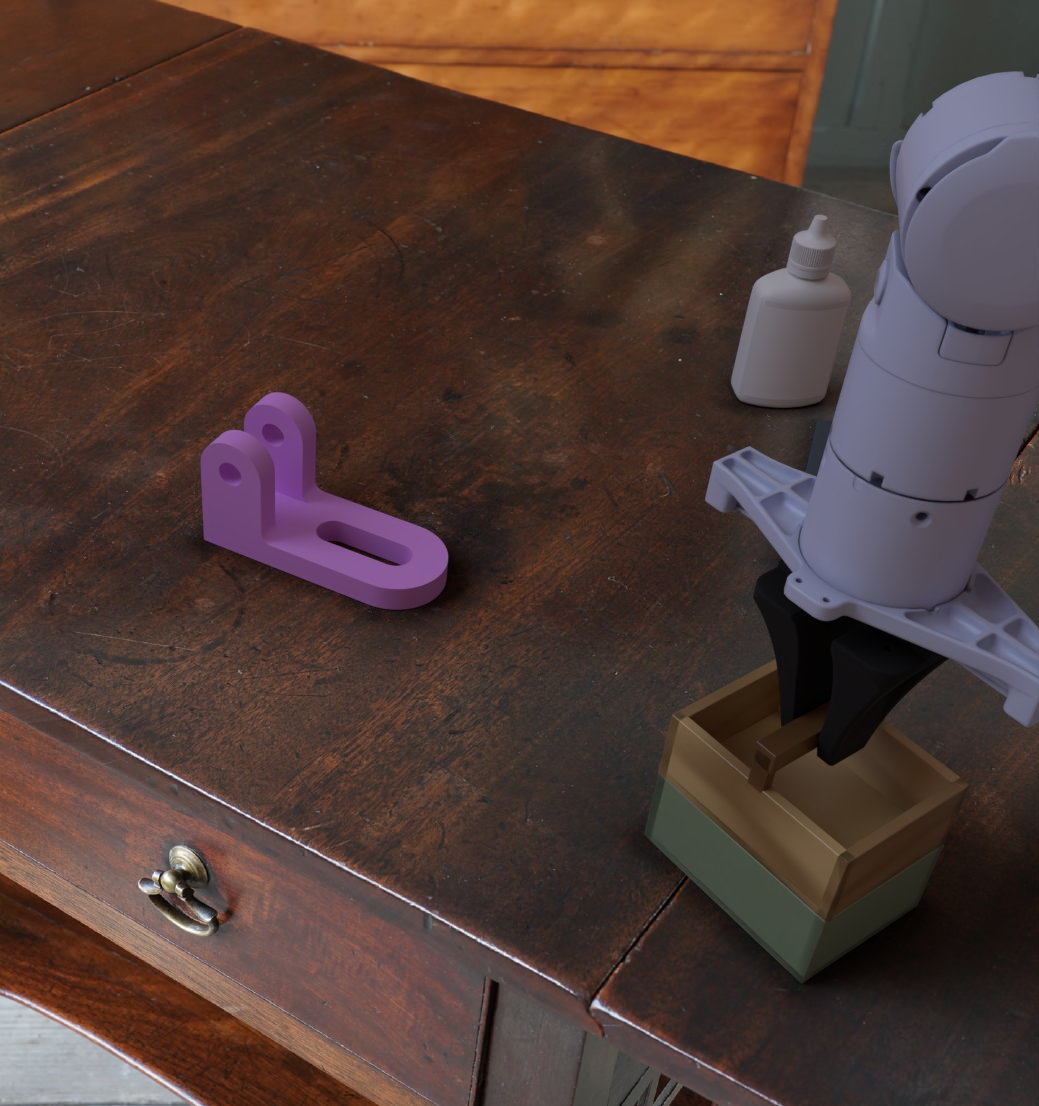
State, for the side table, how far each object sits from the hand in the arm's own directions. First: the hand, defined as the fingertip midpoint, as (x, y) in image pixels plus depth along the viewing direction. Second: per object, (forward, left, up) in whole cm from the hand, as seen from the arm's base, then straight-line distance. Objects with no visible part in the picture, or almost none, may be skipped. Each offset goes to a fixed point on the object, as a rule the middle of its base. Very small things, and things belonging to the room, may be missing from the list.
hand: (822, 736), depth 57 cm
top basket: (0, 0, -4) cm, 4 cm away
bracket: (+28, +4, -8) cm, 30 cm away
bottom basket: (0, 0, -8) cm, 8 cm away
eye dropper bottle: (+26, -28, -8) cm, 39 cm away
